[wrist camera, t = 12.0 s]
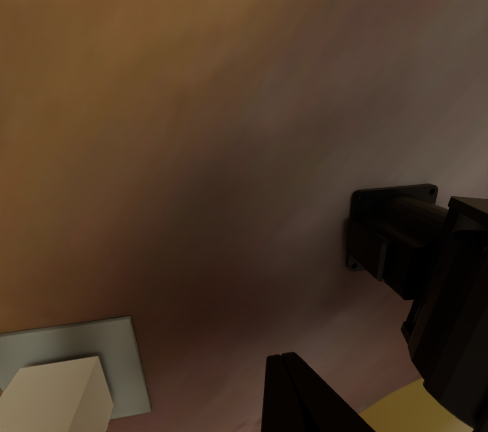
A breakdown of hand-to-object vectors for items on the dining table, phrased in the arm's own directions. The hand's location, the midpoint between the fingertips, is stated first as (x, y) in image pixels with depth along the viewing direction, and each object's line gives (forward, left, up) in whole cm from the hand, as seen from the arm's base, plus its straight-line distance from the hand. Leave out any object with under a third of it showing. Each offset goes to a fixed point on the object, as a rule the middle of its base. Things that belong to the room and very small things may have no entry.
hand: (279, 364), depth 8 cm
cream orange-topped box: (+13, +12, -11) cm, 21 cm away
